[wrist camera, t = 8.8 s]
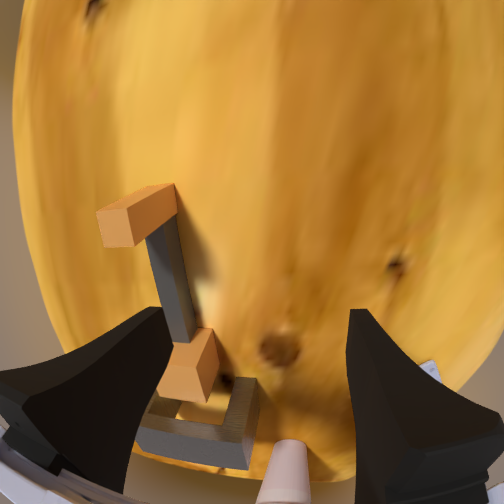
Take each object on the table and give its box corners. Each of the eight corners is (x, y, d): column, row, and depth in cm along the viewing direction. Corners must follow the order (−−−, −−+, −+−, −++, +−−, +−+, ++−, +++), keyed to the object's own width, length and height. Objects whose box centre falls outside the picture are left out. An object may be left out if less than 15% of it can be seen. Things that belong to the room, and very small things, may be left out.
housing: (259, 411, 27) (248, 470, 21) (166, 400, 29) (142, 451, 22) (255, 378, 25) (241, 443, 19) (153, 368, 27) (123, 421, 20)
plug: (220, 364, 25) (201, 418, 20) (177, 360, 26) (153, 409, 20) (187, 181, 19) (143, 206, 14) (135, 187, 20) (82, 213, 14)
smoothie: (252, 438, 29) (228, 547, 17) (306, 428, 27) (295, 550, 15) (276, 461, 31) (260, 557, 19) (325, 453, 29) (319, 557, 17)
